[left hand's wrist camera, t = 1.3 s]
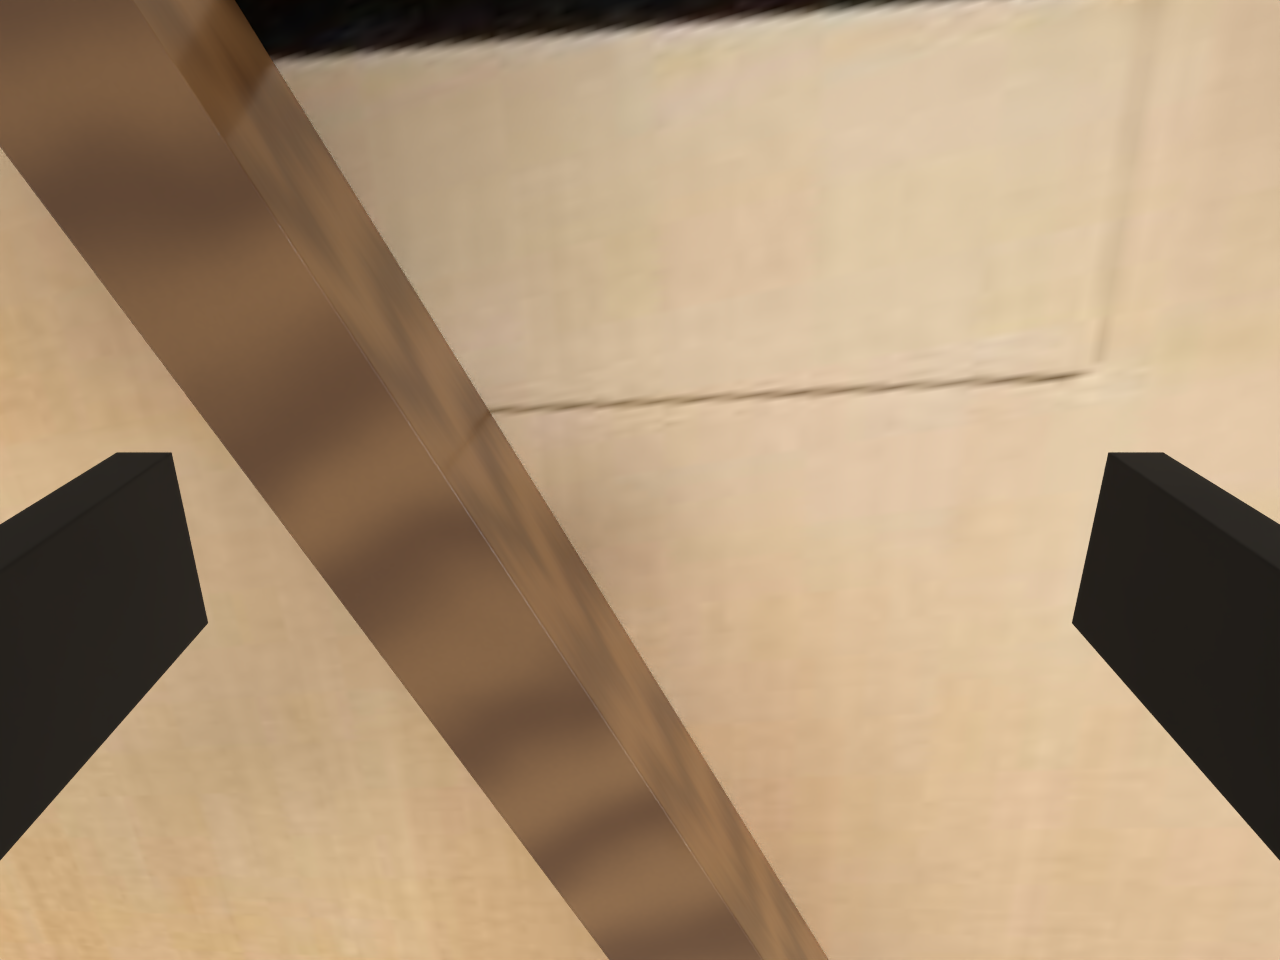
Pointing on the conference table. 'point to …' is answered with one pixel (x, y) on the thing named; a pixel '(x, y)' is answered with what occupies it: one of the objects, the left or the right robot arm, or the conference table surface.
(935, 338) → the conference table surface
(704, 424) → the conference table surface
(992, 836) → the conference table surface
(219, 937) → the conference table surface
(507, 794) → the beam
